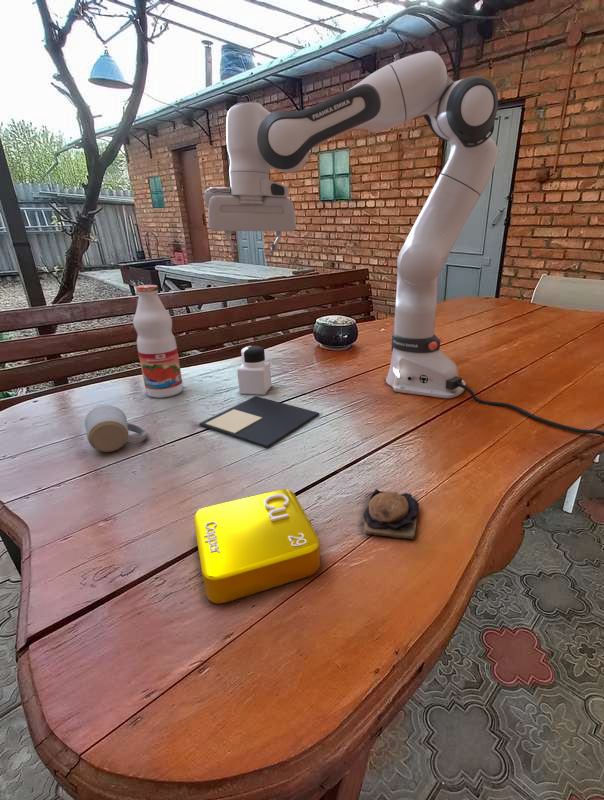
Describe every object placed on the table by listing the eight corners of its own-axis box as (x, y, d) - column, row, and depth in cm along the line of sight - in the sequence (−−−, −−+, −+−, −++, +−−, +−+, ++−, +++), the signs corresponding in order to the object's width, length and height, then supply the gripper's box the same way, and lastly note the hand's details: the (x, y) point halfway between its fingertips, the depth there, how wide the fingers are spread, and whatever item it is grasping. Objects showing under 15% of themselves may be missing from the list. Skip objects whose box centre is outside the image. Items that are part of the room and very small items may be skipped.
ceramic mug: (91, 458, 83) (83, 423, 80) (89, 441, 89) (81, 408, 86) (150, 445, 88) (144, 412, 85) (144, 430, 94) (138, 398, 91)
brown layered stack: (416, 542, 62) (418, 522, 60) (359, 534, 63) (360, 515, 62) (418, 498, 72) (420, 480, 70) (369, 493, 73) (369, 475, 71)
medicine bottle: (272, 385, 120) (269, 344, 115) (265, 395, 113) (261, 351, 108) (247, 384, 120) (243, 343, 116) (239, 394, 114) (234, 351, 109)
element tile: (195, 532, 64) (191, 506, 62) (292, 507, 69) (290, 483, 67) (208, 610, 51) (203, 580, 49) (324, 572, 56) (324, 544, 55)
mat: (319, 414, 102) (319, 411, 102) (267, 448, 87) (267, 444, 87) (256, 398, 111) (255, 395, 111) (199, 425, 96) (198, 422, 96)
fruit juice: (182, 383, 121) (166, 282, 110) (184, 395, 113) (167, 287, 102) (146, 388, 117) (126, 284, 106) (146, 400, 109) (124, 289, 98)
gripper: (202, 185, 92) (209, 253, 97) (295, 188, 97) (297, 252, 102) (203, 187, 98) (210, 251, 103) (292, 189, 102) (294, 250, 108)
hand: (254, 251), depth 103 cm, fingers open, 8 cm apart
